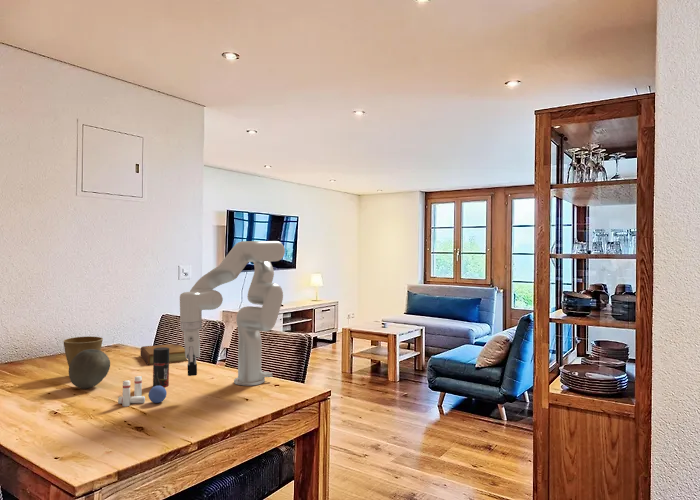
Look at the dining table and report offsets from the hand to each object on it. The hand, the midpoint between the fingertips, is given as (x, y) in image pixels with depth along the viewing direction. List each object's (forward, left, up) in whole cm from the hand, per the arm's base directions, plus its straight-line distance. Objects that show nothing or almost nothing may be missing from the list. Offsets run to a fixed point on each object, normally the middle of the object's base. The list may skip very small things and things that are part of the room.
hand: (192, 375), depth 179 cm
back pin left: (+22, +3, -9) cm, 24 cm away
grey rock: (+40, -25, -9) cm, 48 cm away
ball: (+12, +2, -6) cm, 13 cm away
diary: (+17, -75, -10) cm, 78 cm away
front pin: (+16, +1, -8) cm, 18 cm away
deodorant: (+13, -21, -9) cm, 26 cm away
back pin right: (+19, -3, -9) cm, 21 cm away
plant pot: (+47, -45, -9) cm, 66 cm away
